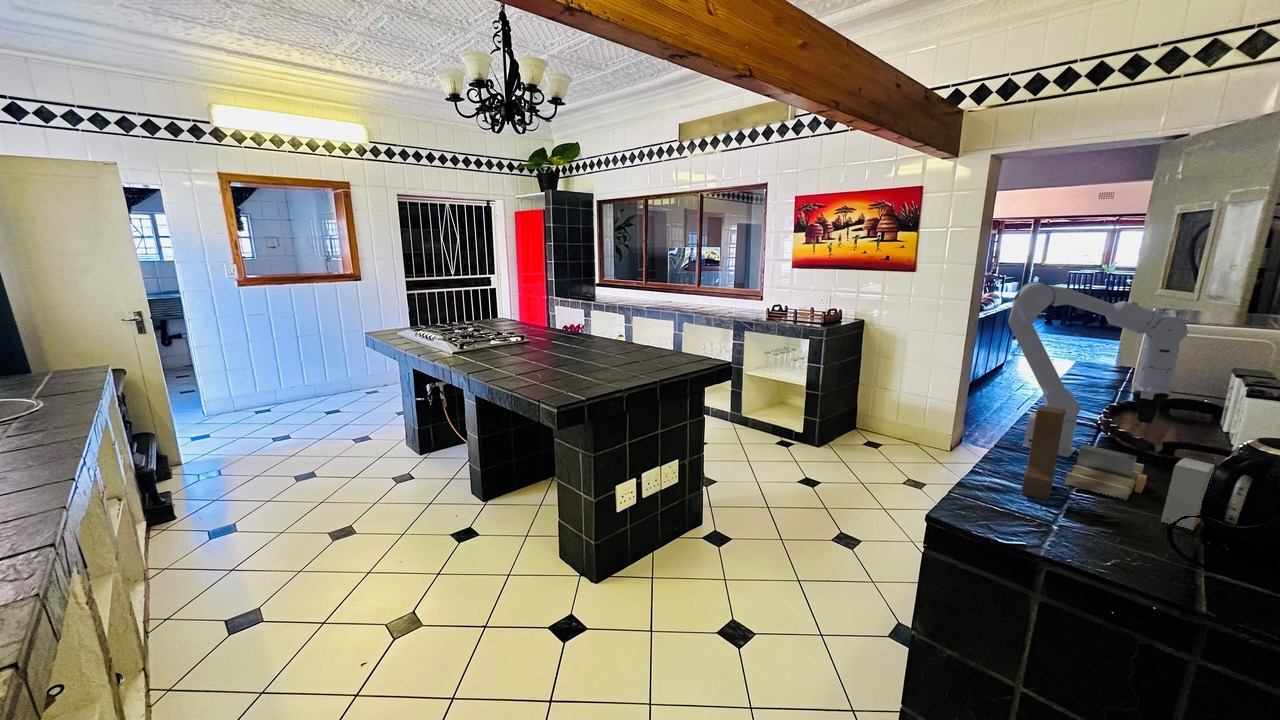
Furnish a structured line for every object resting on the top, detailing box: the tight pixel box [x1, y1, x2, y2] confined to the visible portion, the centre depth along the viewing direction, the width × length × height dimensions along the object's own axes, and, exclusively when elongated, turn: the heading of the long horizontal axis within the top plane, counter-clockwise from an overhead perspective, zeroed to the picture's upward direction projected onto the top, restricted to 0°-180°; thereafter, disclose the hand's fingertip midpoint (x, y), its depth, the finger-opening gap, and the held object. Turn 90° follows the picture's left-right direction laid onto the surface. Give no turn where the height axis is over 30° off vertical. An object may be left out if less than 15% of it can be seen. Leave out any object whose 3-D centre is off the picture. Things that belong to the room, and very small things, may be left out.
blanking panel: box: [1076, 444, 1138, 479], centre depth 111 cm, size 9×3×6 cm, turn 38°
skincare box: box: [1160, 457, 1216, 531], centre depth 92 cm, size 6×4×12 cm
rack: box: [1064, 462, 1148, 501], centre depth 110 cm, size 11×18×3 cm, turn 128°
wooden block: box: [1021, 405, 1065, 501], centre depth 105 cm, size 9×4×18 cm, turn 137°
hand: (1144, 422), depth 117 cm, fingers closed
